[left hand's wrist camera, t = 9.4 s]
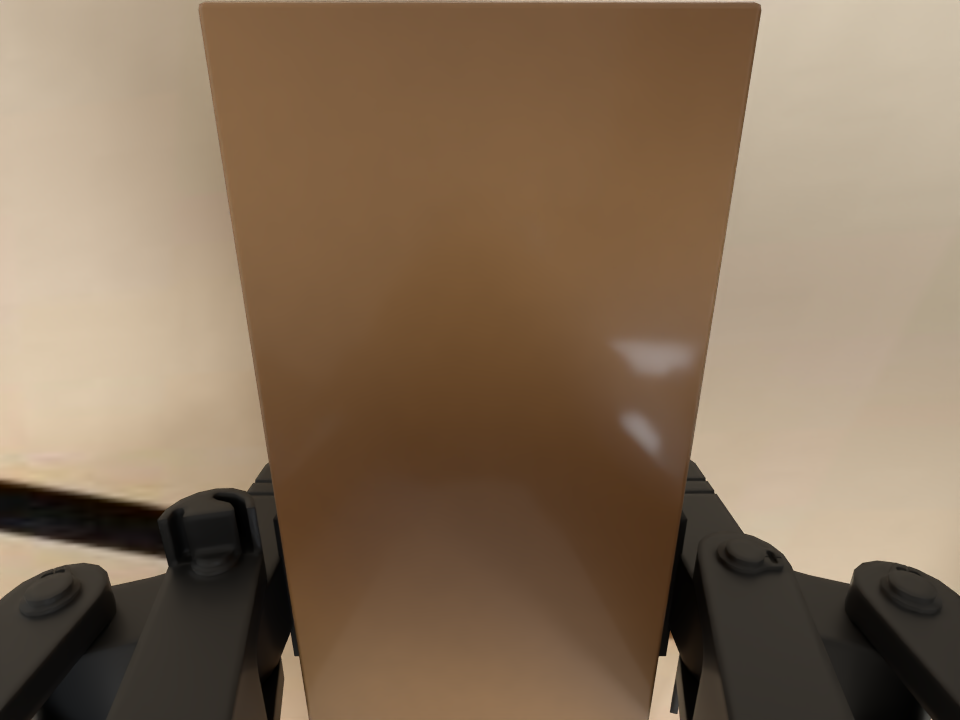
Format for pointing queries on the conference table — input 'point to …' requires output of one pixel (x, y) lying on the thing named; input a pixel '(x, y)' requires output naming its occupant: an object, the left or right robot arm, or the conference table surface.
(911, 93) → the conference table surface
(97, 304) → the conference table surface
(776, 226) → the conference table surface
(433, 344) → the beam
